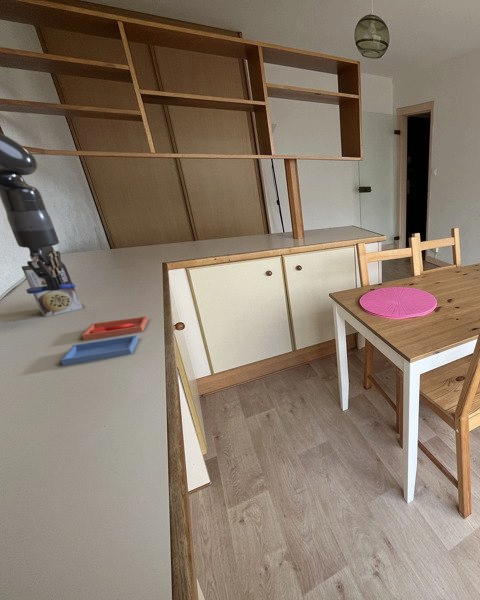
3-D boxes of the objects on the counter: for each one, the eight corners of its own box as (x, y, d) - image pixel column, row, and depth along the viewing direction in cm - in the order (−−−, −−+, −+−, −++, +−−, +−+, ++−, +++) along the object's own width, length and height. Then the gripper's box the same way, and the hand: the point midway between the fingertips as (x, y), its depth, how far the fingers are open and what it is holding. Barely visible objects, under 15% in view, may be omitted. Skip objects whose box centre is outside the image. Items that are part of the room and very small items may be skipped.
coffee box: (78, 304, 110) (61, 260, 104) (83, 309, 107) (66, 263, 101) (40, 312, 103) (20, 265, 97) (44, 318, 100) (24, 269, 94)
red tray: (84, 341, 87) (81, 335, 87) (93, 329, 94) (91, 323, 93) (142, 332, 93) (141, 326, 92) (148, 321, 100) (146, 316, 99)
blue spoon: (77, 286, 92) (76, 281, 92) (73, 289, 89) (72, 285, 89) (30, 290, 88) (28, 285, 87) (24, 294, 85) (22, 289, 84)
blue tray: (63, 367, 76) (60, 360, 75) (76, 351, 83) (73, 344, 82) (132, 355, 82) (129, 348, 81) (138, 341, 88) (136, 335, 88)
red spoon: (135, 325, 97) (134, 320, 96) (133, 329, 94) (132, 325, 93) (94, 330, 92) (92, 326, 92) (90, 335, 89) (88, 331, 89)
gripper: (41, 231, 79) (65, 295, 85) (62, 223, 90) (82, 280, 96) (-2, 232, 75) (26, 299, 82) (25, 224, 86) (48, 283, 93)
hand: (56, 288), depth 89 cm, fingers closed on blue spoon, 1 cm apart
